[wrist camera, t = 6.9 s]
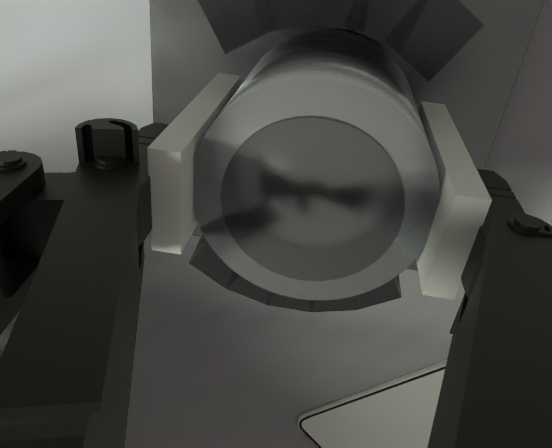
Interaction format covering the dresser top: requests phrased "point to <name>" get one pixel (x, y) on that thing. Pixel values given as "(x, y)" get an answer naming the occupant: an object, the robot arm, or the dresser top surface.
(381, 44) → the dark grey holder
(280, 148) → the cap
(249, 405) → the dresser top surface
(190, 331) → the dresser top surface
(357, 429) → the smartphone
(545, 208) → the dresser top surface
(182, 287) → the dresser top surface
